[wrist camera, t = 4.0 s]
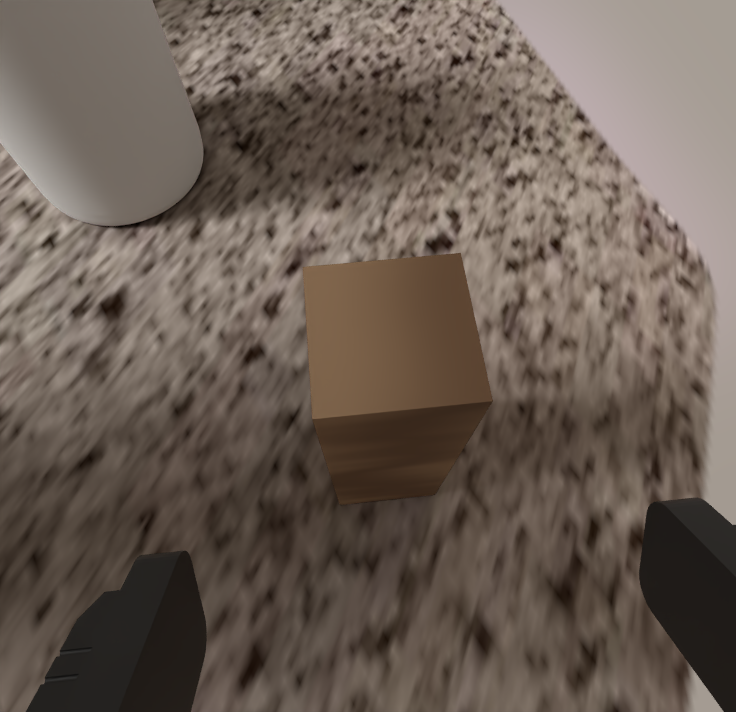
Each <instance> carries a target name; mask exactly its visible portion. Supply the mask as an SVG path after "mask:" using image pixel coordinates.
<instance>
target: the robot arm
mask: <svg viewBox="0 0 736 712" xmlns="http://www.w3.org/2000/svg"><path fill="white" fill-rule="evenodd" d="M639 579H640V585H641V589H642V592H643V595H644V598H645V600H646V603H647V605H648V606H649V608H650V610H651V611H652V613H653V614H654V616H655V617H656V618H657V620H658V621H659V623H660V624H661V625H662V627H663V628H664V629H665V631H666V632H667V634H668V635H669V636H670V638H671V639H672V641H673V642H674V643H675V645H676V646H677V647H678V649H679V650H680V652H681V653H682V654H683V656H684V657H685V659H686V660H687V661H688V663H689V664H690V665H691V667H692V668H693V670H694V671H695V672H696V674H697V675H698V676H699V678H700V679H701V681H702V682H703V683H704V685H705V686H706V688H707V689H708V690H709V692H710V693H711V694H712V696H713V697H714V698H715V700H716V701H717V703H718V704H719V706H720V707H721V708H722V710H723V711H724V712H736V525H732V524H731V523H730V522H729V521H727V520H726V519H725V518H724V517H723V516H722V515H721V514H720V513H718V512H717V511H716V510H715V509H714V508H713V507H712V506H711V505H709V504H708V503H707V502H706V501H704V500H702V499H700V498H688V499H678V500H669V501H659V502H654V503H652V504H650V506H649V507H648V510H647V515H646V523H645V530H644V538H643V546H642V554H641V562H640V569H639ZM205 651H206V621H205V616H204V611H203V607H202V603H201V599H200V595H199V590H198V586H197V582H196V578H195V573H194V569H193V565H192V561H191V558H190V555H189V554H188V552H187V551H177V552H168V553H158V554H149V555H141V556H139V557H138V558H137V559H136V560H135V562H134V564H133V566H132V568H131V570H130V572H129V574H128V576H127V578H126V580H125V582H124V584H123V586H122V588H121V590H118V591H109V592H104V593H103V594H102V595H101V596H100V597H99V598H98V599H97V600H96V601H95V602H94V603H93V604H92V605H91V606H90V607H89V608H88V609H87V610H86V611H85V612H84V613H83V614H82V615H81V616H80V617H79V618H78V619H77V621H76V623H75V625H74V626H73V628H72V630H71V632H70V634H69V635H68V637H67V639H66V641H65V643H64V644H63V646H62V648H61V650H60V656H59V657H56V659H55V660H54V662H53V664H52V666H51V668H50V669H49V671H48V673H47V675H46V677H45V683H44V684H41V685H40V687H39V689H38V691H37V693H36V694H35V696H34V698H33V700H32V702H31V703H30V705H29V707H28V709H27V710H26V712H191V709H192V705H193V701H194V697H195V693H196V689H197V685H198V681H199V677H200V674H201V670H202V666H203V662H204V657H205Z"/></svg>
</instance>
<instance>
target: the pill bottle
mask: <svg viewBox="0 0 736 712" xmlns="http://www.w3.org/2000/svg"><path fill="white" fill-rule="evenodd" d="M0 143H1V144H2V145H3V147H4V148H5V149H6V150H7V152H8V153H9V154H10V155H11V156H12V158H13V159H14V160H15V161H16V163H17V164H18V165H19V166H20V167H21V169H22V170H23V171H24V172H25V174H26V175H27V176H28V177H29V178H30V180H31V181H32V182H33V183H34V185H35V186H36V187H37V188H38V189H39V191H40V192H41V193H42V194H43V195H44V196H45V197H46V198H47V199H48V200H49V201H50V202H51V203H52V204H53V205H54V206H55V207H56V208H57V209H59V210H60V211H61V212H63V213H64V214H66V215H68V216H70V217H72V218H74V219H76V220H79V221H82V222H85V223H89V224H93V225H101V226H120V225H127V224H133V223H137V222H141V221H144V220H147V219H149V218H152V217H154V216H156V215H159V214H161V213H162V212H164V211H166V210H168V209H169V208H171V207H172V206H173V205H175V204H176V203H177V202H179V201H180V200H181V199H182V198H183V197H184V196H185V195H186V194H187V193H188V192H189V190H190V189H191V188H192V186H193V185H194V183H195V182H196V180H197V178H198V176H199V173H200V171H201V167H202V163H203V143H202V138H201V134H200V130H199V127H198V124H197V121H196V118H195V116H194V113H193V110H192V107H191V105H190V102H189V99H188V96H187V94H186V91H185V88H184V85H183V83H182V80H181V77H180V74H179V72H178V69H177V66H176V63H175V61H174V58H173V55H172V53H171V50H170V47H169V44H168V42H167V39H166V36H165V33H164V31H163V28H162V25H161V22H160V20H159V17H158V14H157V11H156V9H155V6H154V3H153V0H0Z"/></svg>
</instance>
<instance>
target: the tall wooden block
mask: <svg viewBox="0 0 736 712" xmlns="http://www.w3.org/2000/svg"><path fill="white" fill-rule="evenodd" d="M303 277H304V293H305V309H306V325H307V341H308V357H309V374H310V390H311V406H312V420H313V423H314V426H315V429H316V432H317V435H318V439H319V442H320V445H321V448H322V451H323V454H324V457H325V461H326V464H327V467H328V470H329V473H330V476H331V479H332V482H333V486H334V489H335V492H336V495H337V498H338V501H339V504H340V505H345V504H354V503H363V502H373V501H382V500H391V499H401V498H410V497H419V496H429V495H435V494H436V492H437V491H438V489H439V487H440V486H441V484H442V482H443V481H444V479H445V478H446V476H447V474H448V473H449V471H450V470H451V468H452V466H453V465H454V463H455V461H456V460H457V458H458V457H459V455H460V453H461V452H462V450H463V448H464V447H465V445H466V444H467V442H468V440H469V439H470V437H471V436H472V434H473V432H474V431H475V429H476V427H477V426H478V424H479V423H480V421H481V419H482V418H483V416H484V415H485V413H486V411H487V410H488V408H489V406H490V405H491V403H492V402H493V400H492V395H491V391H490V386H489V381H488V377H487V372H486V368H485V363H484V358H483V354H482V349H481V344H480V340H479V335H478V331H477V326H476V321H475V317H474V312H473V308H472V303H471V298H470V294H469V289H468V285H467V280H466V275H465V271H464V266H463V262H462V257H461V253H456V254H445V255H434V256H422V257H411V258H400V259H388V260H377V261H366V262H355V263H343V264H332V265H321V266H309V267H303Z"/></svg>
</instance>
